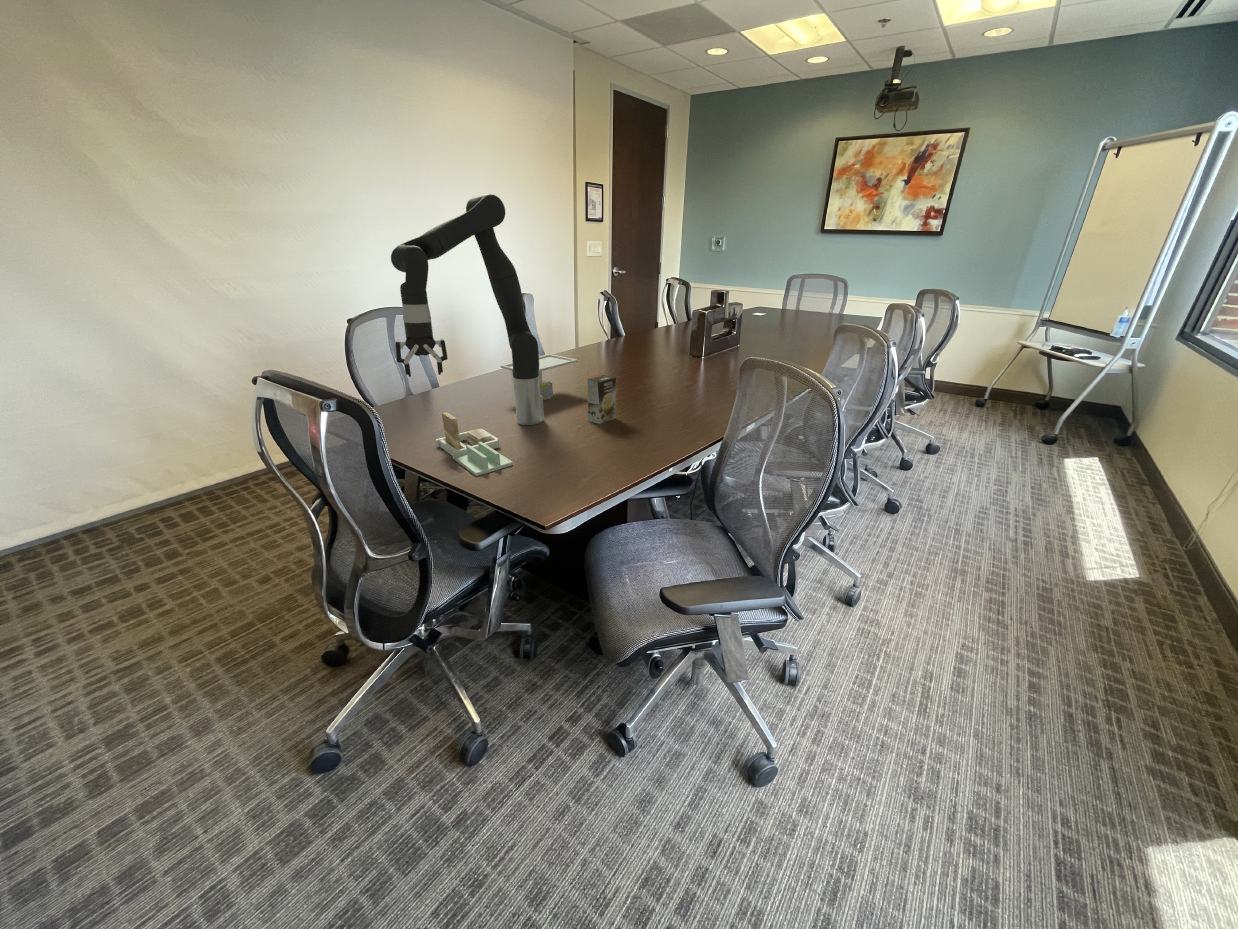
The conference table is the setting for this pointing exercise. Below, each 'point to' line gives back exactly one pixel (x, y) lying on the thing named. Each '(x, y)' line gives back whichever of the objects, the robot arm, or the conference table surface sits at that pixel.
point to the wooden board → (451, 430)
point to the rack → (463, 451)
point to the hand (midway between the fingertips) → (424, 375)
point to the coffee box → (601, 399)
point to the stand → (483, 460)
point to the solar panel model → (545, 364)
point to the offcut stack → (478, 437)
